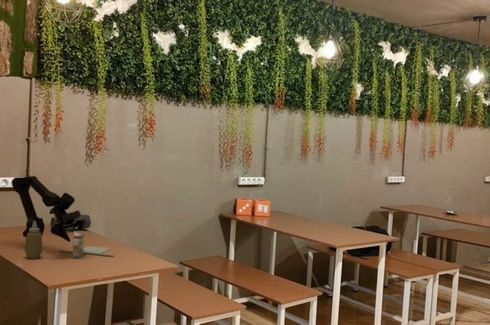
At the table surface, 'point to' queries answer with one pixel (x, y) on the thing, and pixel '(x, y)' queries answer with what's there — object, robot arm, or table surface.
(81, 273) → the table surface
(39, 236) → the squeeze bottle
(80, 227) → the robot arm
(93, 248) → the mat
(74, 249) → the skittle
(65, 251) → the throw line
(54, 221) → the bluetooth speaker
